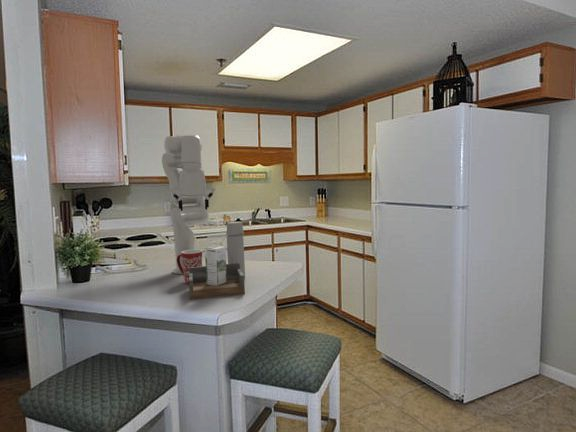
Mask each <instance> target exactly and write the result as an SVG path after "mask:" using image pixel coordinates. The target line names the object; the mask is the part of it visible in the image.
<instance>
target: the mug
mask: <svg viewBox="0 0 576 432" xmlns="http://www.w3.org/2000/svg"><path fill="white" fill-rule="evenodd" d="M180 257H182V261H183V268H182V266H181V263H180ZM177 264H178V267H179V269H180V271H181V272H182V274H181V275H183V279H184V284H186V285H189V267H200V266H203V250H202V249H195V250H186V251H182V252H181V254H180V255H178V256H177Z"/></svg>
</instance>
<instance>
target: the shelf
mask: <svg viewBox="0 0 576 432" xmlns="http://www.w3.org/2000/svg"><path fill="white" fill-rule="evenodd" d="M226 273H227V283H224V284H222V285H219V286H212V285H207V284H206V265H202V266H200V267H189V284H188V286H189V299H190V300H199V299H209V298H217V297H227V296H237V295H245V294H246V291H245V290H246V289H245V280H244V275H243V273H242V271H241V269H240V263H235V264H228V263H226Z"/></svg>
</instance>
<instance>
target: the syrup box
mask: <svg viewBox="0 0 576 432" xmlns="http://www.w3.org/2000/svg"><path fill="white" fill-rule="evenodd" d="M226 247H227V246H222V245H213V246H208V247H205V248H204V259H205V260H204V261H205V262H204V263H205V266H206V284H207V285H212V286H219V285H222V284H224V283H227V273H226V264H227V250H226V249H227V248H226Z"/></svg>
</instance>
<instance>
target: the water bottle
mask: <svg viewBox="0 0 576 432" xmlns="http://www.w3.org/2000/svg"><path fill="white" fill-rule="evenodd" d="M243 225H244V224H243V221H230V222H226V233H225V235H226V247H227V248H226V249H227V250H226V253H227V264H235V263H240V269H241V271H242V273H243V275H244V281H245V280H246V267H245V266H246V264H245V262H246V261H245V245H244V244H245V243H244V235H245V232H244V226H243Z"/></svg>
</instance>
